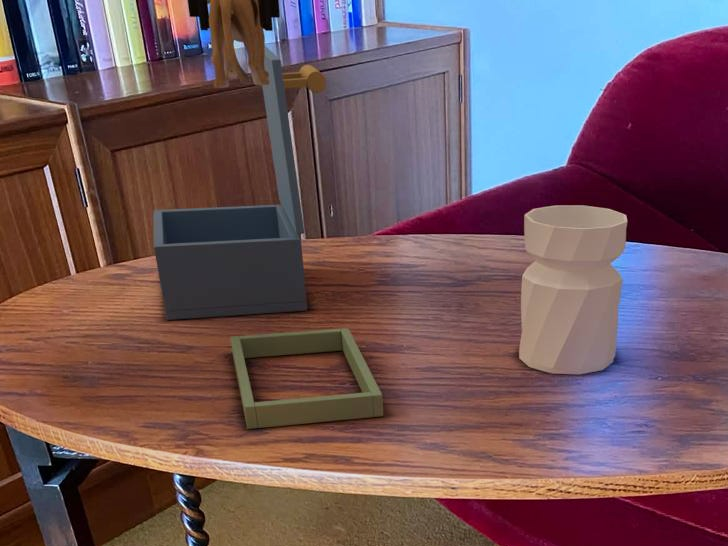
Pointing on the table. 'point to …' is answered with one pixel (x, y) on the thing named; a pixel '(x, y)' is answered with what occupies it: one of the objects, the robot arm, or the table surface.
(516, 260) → the table surface
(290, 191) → the lid
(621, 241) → the vase
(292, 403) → the tray
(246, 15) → the lion figurine
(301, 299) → the chest
